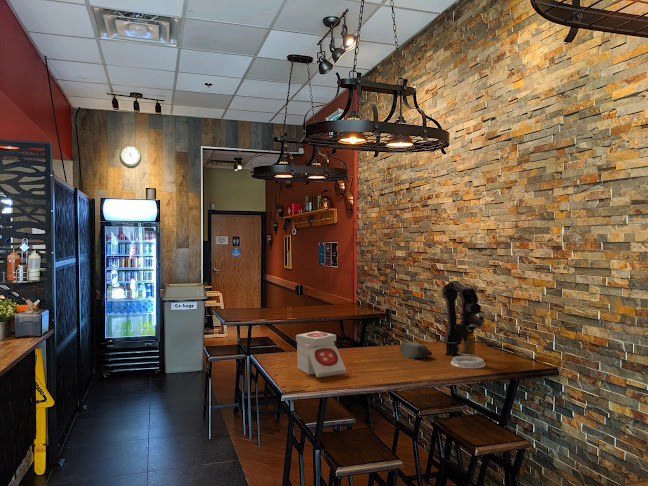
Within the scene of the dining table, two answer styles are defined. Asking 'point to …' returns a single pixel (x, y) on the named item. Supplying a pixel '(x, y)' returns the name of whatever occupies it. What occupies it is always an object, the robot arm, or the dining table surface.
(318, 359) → the pizza box stack
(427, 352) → the grey rounded jug
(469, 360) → the collar plate
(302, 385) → the dining table surface
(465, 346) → the condiment
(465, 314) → the robot arm
